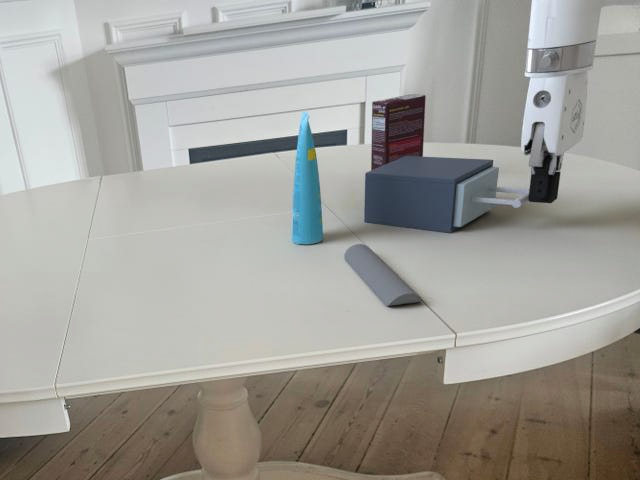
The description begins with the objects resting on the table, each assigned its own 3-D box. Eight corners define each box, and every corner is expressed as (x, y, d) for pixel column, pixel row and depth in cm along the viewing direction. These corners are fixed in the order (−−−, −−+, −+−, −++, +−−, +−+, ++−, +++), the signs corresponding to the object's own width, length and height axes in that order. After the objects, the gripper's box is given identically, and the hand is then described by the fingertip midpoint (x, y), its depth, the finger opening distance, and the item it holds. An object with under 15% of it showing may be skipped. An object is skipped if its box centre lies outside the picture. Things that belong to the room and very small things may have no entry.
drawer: (543, 211, 95) (549, 169, 92) (510, 233, 89) (516, 188, 86) (414, 199, 110) (416, 162, 107) (378, 217, 103) (379, 178, 100)
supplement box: (406, 178, 126) (410, 93, 119) (422, 182, 122) (428, 94, 115) (368, 186, 124) (370, 100, 117) (383, 191, 120) (386, 102, 113)
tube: (327, 245, 97) (327, 113, 88) (296, 249, 97) (292, 118, 88) (317, 231, 104) (316, 107, 95) (288, 235, 104) (283, 112, 95)
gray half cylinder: (372, 253, 91) (372, 242, 91) (425, 305, 74) (426, 291, 73) (342, 257, 92) (342, 245, 91) (388, 310, 74) (389, 296, 73)
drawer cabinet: (487, 211, 102) (493, 159, 98) (450, 233, 95) (455, 178, 91) (403, 202, 112) (405, 155, 108) (364, 222, 105) (365, 172, 101)
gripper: (572, 66, 74) (553, 218, 83) (611, 48, 83) (589, 188, 91) (505, 72, 79) (493, 214, 88) (547, 54, 88) (533, 186, 96)
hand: (542, 200), depth 89 cm, fingers closed
